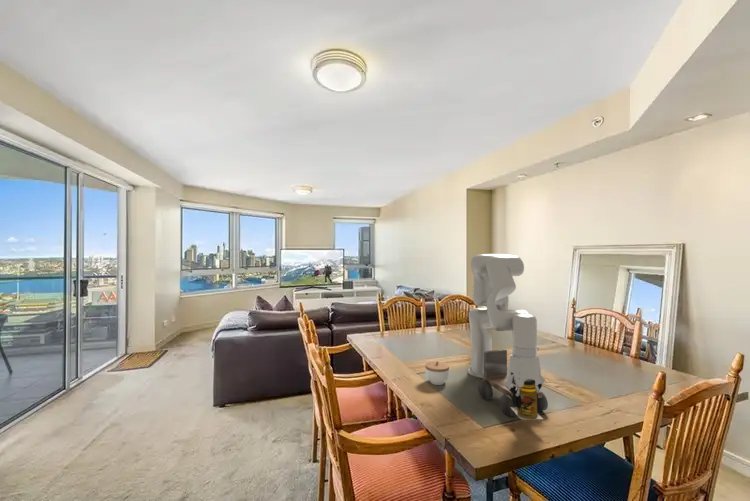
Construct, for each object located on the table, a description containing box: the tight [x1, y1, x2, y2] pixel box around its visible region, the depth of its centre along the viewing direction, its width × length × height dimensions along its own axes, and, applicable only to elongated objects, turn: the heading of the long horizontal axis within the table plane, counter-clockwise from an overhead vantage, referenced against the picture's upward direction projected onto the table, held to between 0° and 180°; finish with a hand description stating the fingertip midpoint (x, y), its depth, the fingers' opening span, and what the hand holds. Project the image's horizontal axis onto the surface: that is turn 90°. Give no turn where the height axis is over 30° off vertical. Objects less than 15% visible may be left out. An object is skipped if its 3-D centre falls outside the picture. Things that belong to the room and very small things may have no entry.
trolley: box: [477, 348, 549, 418], centre depth 128 cm, size 21×15×18 cm
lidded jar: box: [424, 360, 450, 386], centre depth 150 cm, size 11×11×9 cm
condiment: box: [510, 380, 544, 421], centre depth 112 cm, size 7×8×12 cm
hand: (525, 404), depth 112 cm, fingers closed on condiment, 6 cm apart
